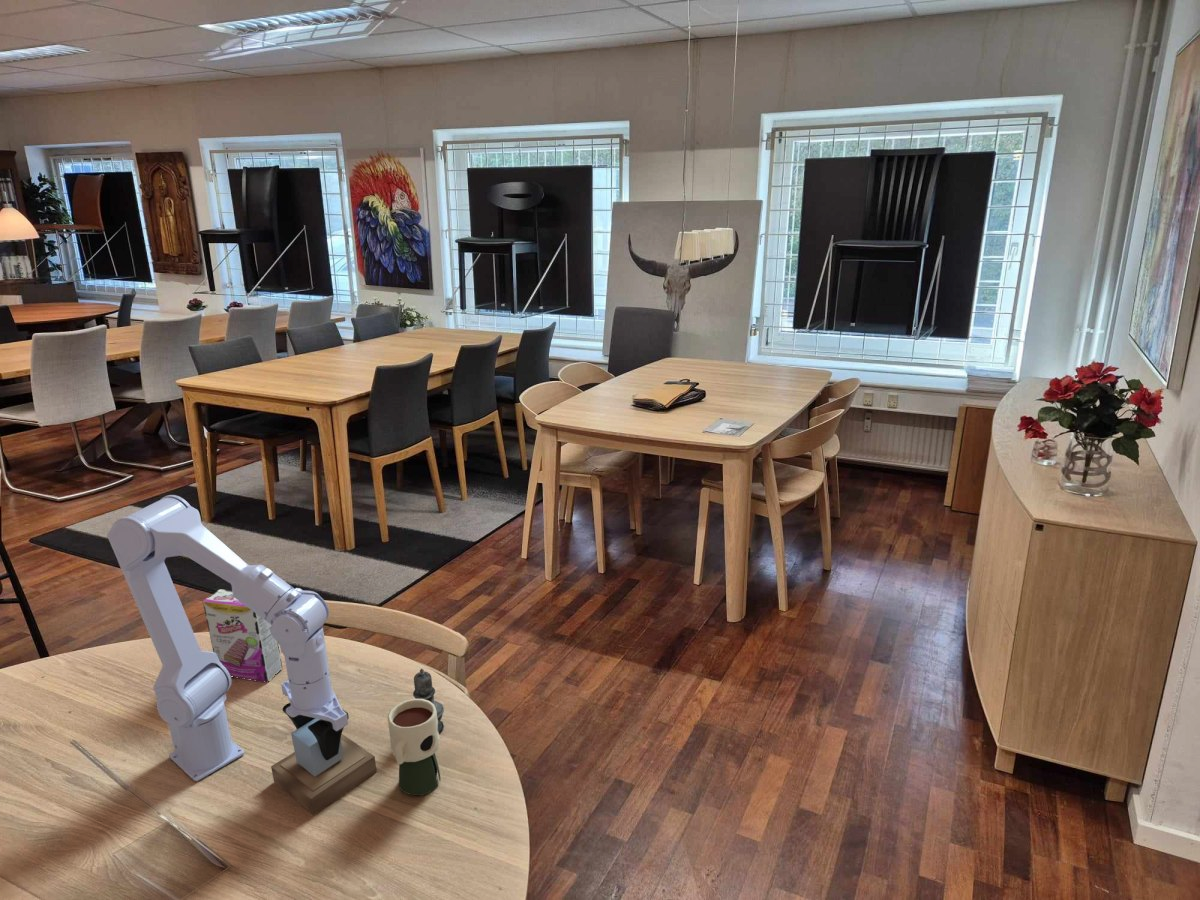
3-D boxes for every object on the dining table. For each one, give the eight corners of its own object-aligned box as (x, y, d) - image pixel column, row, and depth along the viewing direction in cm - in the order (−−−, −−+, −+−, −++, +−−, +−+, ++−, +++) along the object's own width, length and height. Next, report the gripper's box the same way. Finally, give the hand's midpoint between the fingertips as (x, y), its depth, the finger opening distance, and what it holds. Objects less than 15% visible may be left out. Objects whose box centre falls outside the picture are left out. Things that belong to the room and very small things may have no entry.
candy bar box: (216, 677, 143) (200, 601, 137) (234, 662, 147) (219, 587, 142) (267, 684, 140) (253, 607, 135) (284, 669, 145) (271, 593, 140)
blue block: (296, 762, 115) (290, 733, 114) (325, 744, 119) (320, 715, 117) (315, 776, 113) (309, 746, 111) (344, 757, 116) (339, 728, 114)
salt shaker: (437, 742, 124) (430, 681, 120) (404, 738, 125) (396, 677, 122) (451, 719, 130) (445, 660, 126) (419, 716, 131) (412, 656, 127)
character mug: (426, 814, 110) (418, 740, 106) (382, 807, 111) (372, 734, 107) (455, 762, 120) (449, 693, 116) (414, 756, 121) (406, 688, 117)
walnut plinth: (273, 782, 116) (270, 765, 115) (336, 743, 125) (333, 727, 124) (313, 815, 110) (310, 798, 109) (376, 771, 118) (374, 755, 117)
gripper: (257, 668, 113) (271, 743, 117) (311, 705, 104) (324, 784, 108) (300, 647, 118) (312, 719, 122) (355, 680, 109) (366, 757, 114)
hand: (321, 748), depth 116 cm, fingers closed on blue block, 5 cm apart
